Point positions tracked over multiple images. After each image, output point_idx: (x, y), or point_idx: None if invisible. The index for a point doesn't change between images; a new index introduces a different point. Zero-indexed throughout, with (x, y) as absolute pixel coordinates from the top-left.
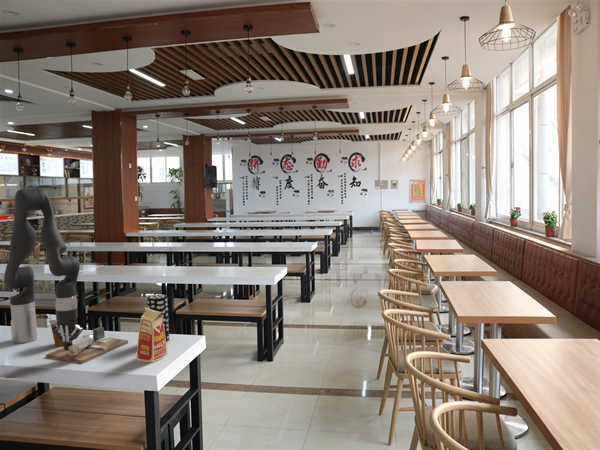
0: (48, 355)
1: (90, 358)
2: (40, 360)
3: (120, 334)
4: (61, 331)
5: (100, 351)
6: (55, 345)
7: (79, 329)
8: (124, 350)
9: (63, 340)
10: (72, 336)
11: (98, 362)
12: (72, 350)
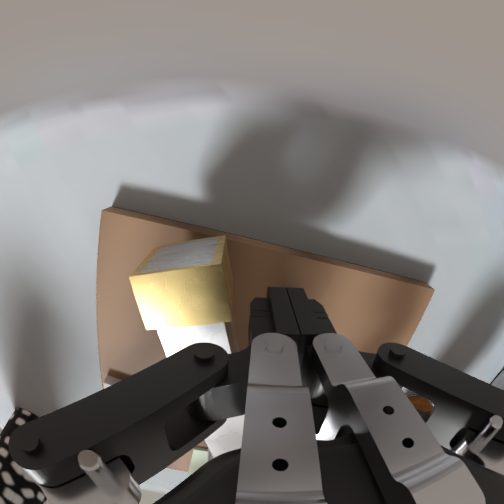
0: (418, 283)
1: (100, 270)
2: (432, 235)
3: None
4: (413, 431)
5: (112, 360)
6: (423, 397)
7: (16, 456)
8: (61, 383)
9: (337, 339)
10: (176, 387)
11: (44, 236)
12: (185, 254)
